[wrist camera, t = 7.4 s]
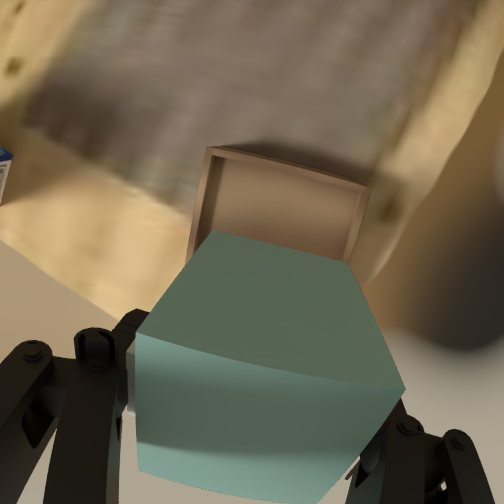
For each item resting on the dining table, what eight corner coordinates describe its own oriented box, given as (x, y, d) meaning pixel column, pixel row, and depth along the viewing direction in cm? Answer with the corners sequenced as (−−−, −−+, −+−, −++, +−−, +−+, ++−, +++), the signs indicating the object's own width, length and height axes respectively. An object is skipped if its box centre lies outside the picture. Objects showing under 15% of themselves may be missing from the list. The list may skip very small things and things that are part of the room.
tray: (219, 146, 26) (206, 146, 22) (356, 180, 26) (371, 188, 22) (194, 273, 30) (180, 296, 26) (317, 303, 30) (323, 331, 26)
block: (212, 229, 14) (135, 332, 6) (348, 263, 14) (405, 389, 6) (192, 342, 16) (138, 470, 8) (307, 368, 16) (314, 505, 8)
